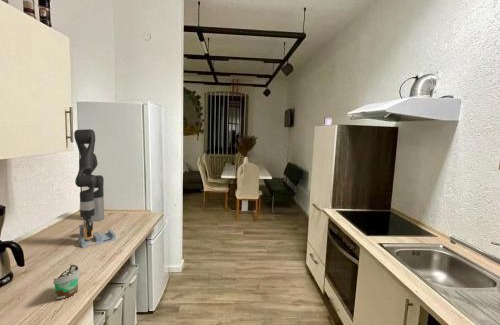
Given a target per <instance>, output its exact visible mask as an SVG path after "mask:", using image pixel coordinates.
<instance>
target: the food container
mask: <svg viewBox="0 0 500 325" xmlns="http://www.w3.org/2000/svg"><path fill="white" fill-rule="evenodd" d="M80 274H81V270H80V267H79V266H78V265H76V264H70V266H69V267H68V268H67V269H66V270H64V271H63V272H62V273H61V274H59V276H58V277H56V278H54V279H53V285H54V289H55V296H56V297H55V298H56V301H63V300H62V299H64V300H67V299H69V297H70V298H71V296H72V297H73V296H75V295H76V294H77V293H78V289H79V275H80ZM75 293H76V294H75ZM74 294H75V295H74ZM66 298H67V299H66Z"/></svg>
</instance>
